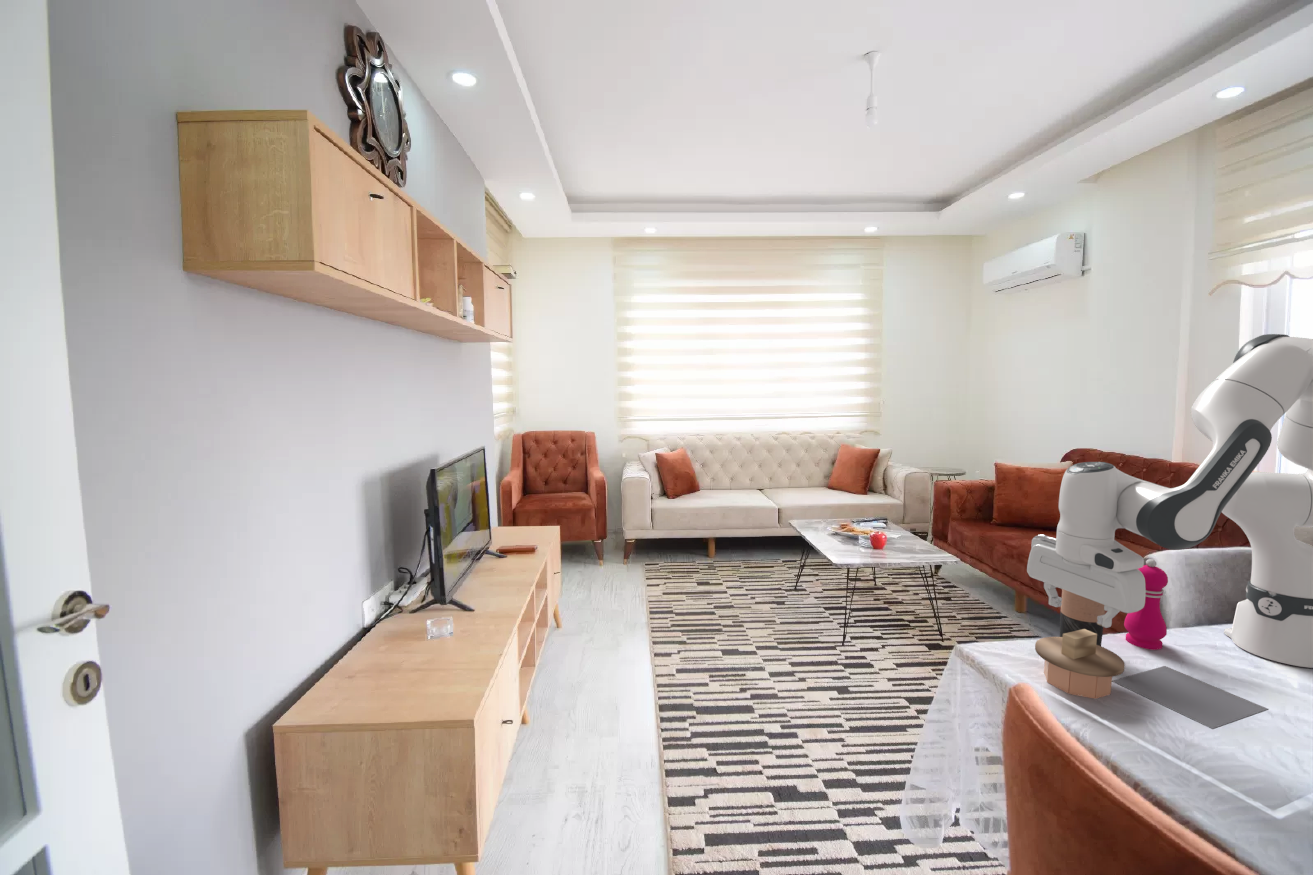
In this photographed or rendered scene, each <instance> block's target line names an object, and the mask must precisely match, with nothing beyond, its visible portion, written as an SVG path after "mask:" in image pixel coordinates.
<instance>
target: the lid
mask: <svg viewBox="0 0 1313 875" xmlns="http://www.w3.org/2000/svg"><path fill="white" fill-rule="evenodd" d="M1096 643H1097V634H1096V633H1093V632H1091V631H1088V630H1086V629H1082V630H1077V631H1073V632H1069V633H1064V634H1063V637H1060V636H1047V637H1046V636H1045V637H1041V638H1039V639H1037V640H1036V642H1035V645H1034V647H1035V648H1034V650H1035V652H1036V654H1037V655H1038V657H1040V658H1042V659H1043V661H1045V660H1046V661H1047V662H1049V663H1051V664H1053V665H1055V666H1058V667H1060V668H1063V669H1066V670H1069V671H1072V672H1076V673H1080V674H1084V675H1090V676H1099V677H1110V676H1112V677H1116V676H1119V675H1121V674H1123V673H1124V671H1125V669H1126V668H1125V665H1126V664H1125V662H1124V660H1123V658H1122V657H1121V656H1119V654H1117V653H1115V652H1113V651H1111V650H1110V649H1108V648H1105V647H1104V646H1102V645H1101V646H1099V645H1096Z"/></svg>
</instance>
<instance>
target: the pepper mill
mask: <svg viewBox="0 0 1313 875" xmlns="http://www.w3.org/2000/svg"><path fill="white" fill-rule="evenodd" d="M1138 570H1140V571H1141V572H1142V574H1143V576H1144V578H1145V588H1146V594H1145V605H1144V607H1143V608H1142V609H1141V610H1139V611H1137V612H1133V613H1126V616H1125V618H1124V623H1123V626H1124V628H1125V630H1126V631H1127V633H1126V634H1125V642H1127V643H1128V644H1131V645H1132V646H1134V647H1137V648H1140V649H1141V648H1142V649H1145V650H1150V651H1151V650H1153V651H1155V650H1157V651H1158V650H1161V649H1163V645H1164V644H1163V640H1162V639H1164V638H1165V637H1166V636H1167V635H1168V632H1167V630H1168V629H1167V628H1168V627H1167V624H1166V622H1165V619H1164V617H1163V615H1162V611H1161V599H1162V598H1163V597H1164V593H1165V592H1164V589H1163V588H1165V587H1167V585H1168V582H1169V577H1168V574H1167V572H1165V570H1163V569H1162V568H1160V567H1158V566H1157V561H1156V560H1155V559H1152V558H1148V559H1147V560H1145V564H1144V565H1143V567H1141V568H1138Z"/></svg>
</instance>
